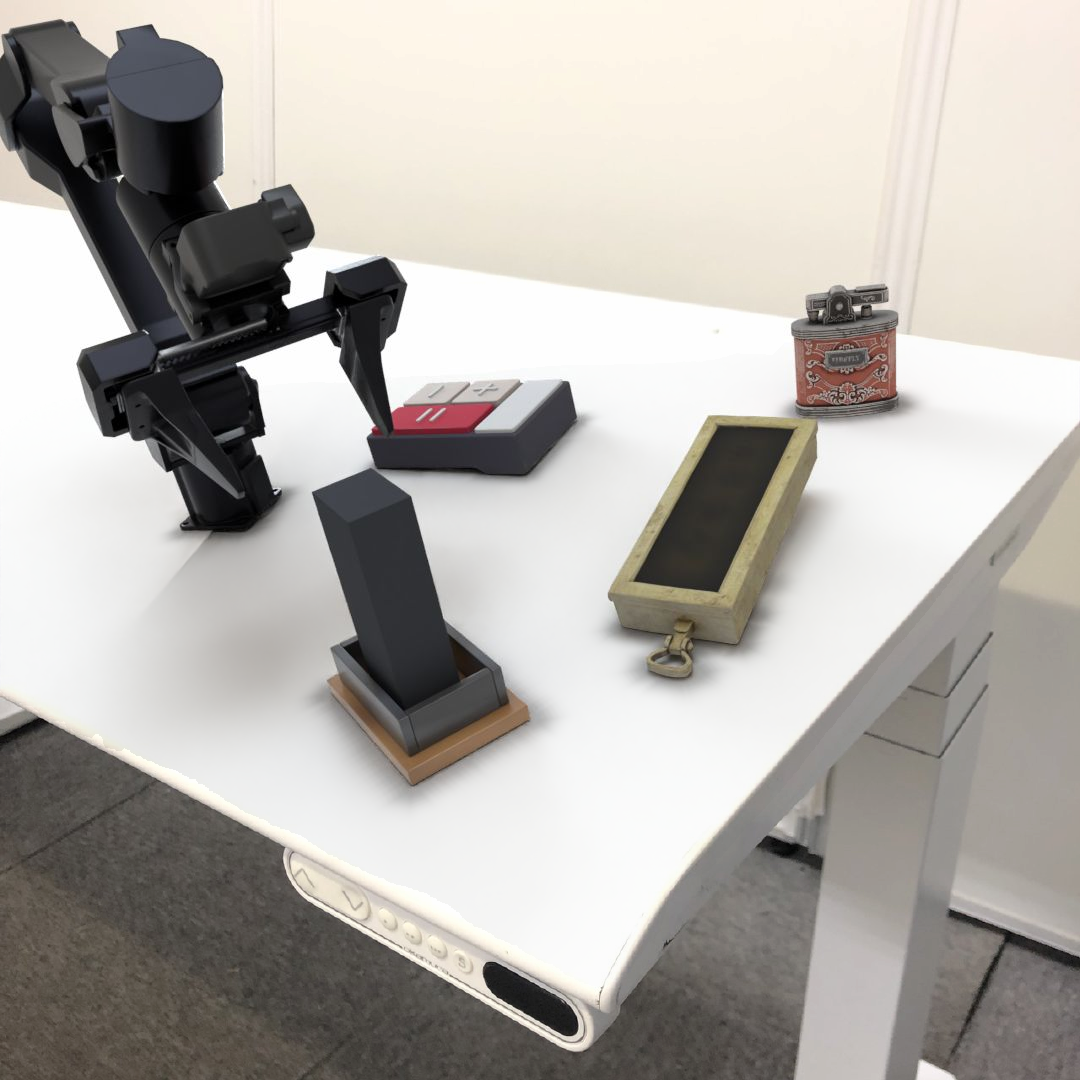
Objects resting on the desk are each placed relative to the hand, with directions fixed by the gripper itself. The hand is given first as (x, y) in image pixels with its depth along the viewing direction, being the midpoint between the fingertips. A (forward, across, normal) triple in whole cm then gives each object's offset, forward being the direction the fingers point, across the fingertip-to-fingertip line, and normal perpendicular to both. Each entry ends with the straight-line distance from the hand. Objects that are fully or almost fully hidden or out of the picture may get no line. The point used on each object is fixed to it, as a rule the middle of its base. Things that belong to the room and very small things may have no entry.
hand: (318, 463), depth 58 cm
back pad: (+14, 0, +4) cm, 14 cm away
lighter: (+8, +44, +11) cm, 46 cm away
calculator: (-6, +21, +26) cm, 34 cm away
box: (+16, +21, +4) cm, 26 cm away
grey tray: (+14, 0, +5) cm, 15 cm away
